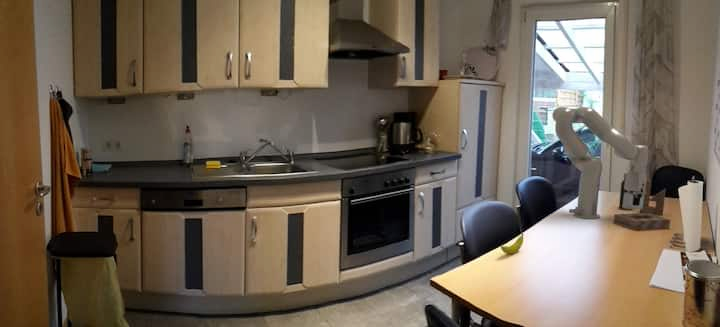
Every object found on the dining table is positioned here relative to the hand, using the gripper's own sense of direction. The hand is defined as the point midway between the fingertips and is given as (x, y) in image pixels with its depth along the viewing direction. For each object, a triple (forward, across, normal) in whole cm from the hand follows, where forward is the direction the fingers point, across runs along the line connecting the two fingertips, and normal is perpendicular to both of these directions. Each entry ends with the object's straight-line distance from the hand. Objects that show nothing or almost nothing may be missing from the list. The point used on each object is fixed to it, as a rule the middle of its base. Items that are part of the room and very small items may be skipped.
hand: (632, 204), depth 275 cm
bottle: (+8, -20, +14) cm, 25 cm away
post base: (+8, +14, -7) cm, 18 cm away
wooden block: (+7, -8, +20) cm, 23 cm away
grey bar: (+2, 0, 0) cm, 2 cm away
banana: (+10, +43, -95) cm, 104 cm away
